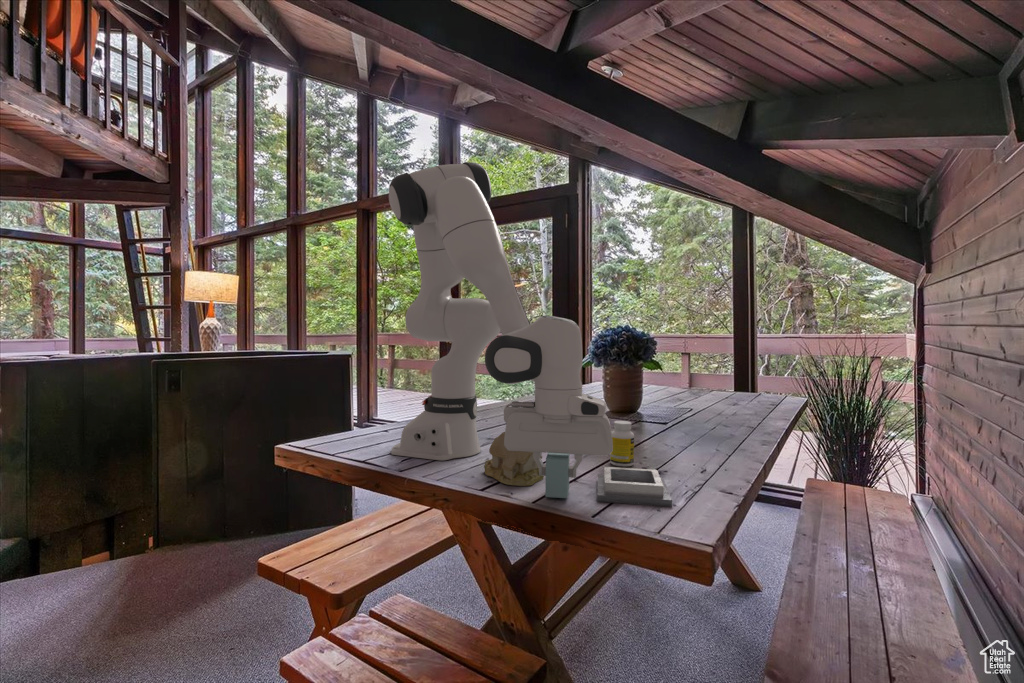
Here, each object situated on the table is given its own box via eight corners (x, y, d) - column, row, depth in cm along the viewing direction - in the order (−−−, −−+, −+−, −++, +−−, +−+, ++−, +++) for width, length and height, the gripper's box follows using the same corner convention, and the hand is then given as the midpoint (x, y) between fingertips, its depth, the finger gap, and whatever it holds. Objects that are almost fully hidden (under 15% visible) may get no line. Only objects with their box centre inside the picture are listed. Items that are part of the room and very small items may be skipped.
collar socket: (597, 501, 88) (597, 484, 88) (597, 479, 100) (597, 464, 100) (671, 506, 85) (672, 488, 85) (662, 483, 98) (662, 468, 98)
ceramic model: (555, 478, 102) (555, 430, 102) (520, 490, 94) (520, 439, 94) (506, 465, 112) (507, 422, 111) (471, 475, 103) (471, 429, 103)
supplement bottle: (634, 467, 109) (634, 425, 109) (610, 466, 111) (610, 423, 110) (633, 461, 115) (633, 420, 115) (610, 460, 116) (610, 419, 116)
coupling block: (545, 496, 88) (545, 458, 88) (548, 487, 94) (548, 451, 94) (567, 498, 88) (567, 460, 87) (569, 488, 93) (569, 452, 93)
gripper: (500, 403, 89) (500, 477, 89) (613, 407, 85) (612, 484, 86) (506, 398, 95) (506, 468, 96) (612, 401, 92) (611, 474, 92)
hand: (557, 475), depth 91 cm, fingers closed on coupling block, 4 cm apart
